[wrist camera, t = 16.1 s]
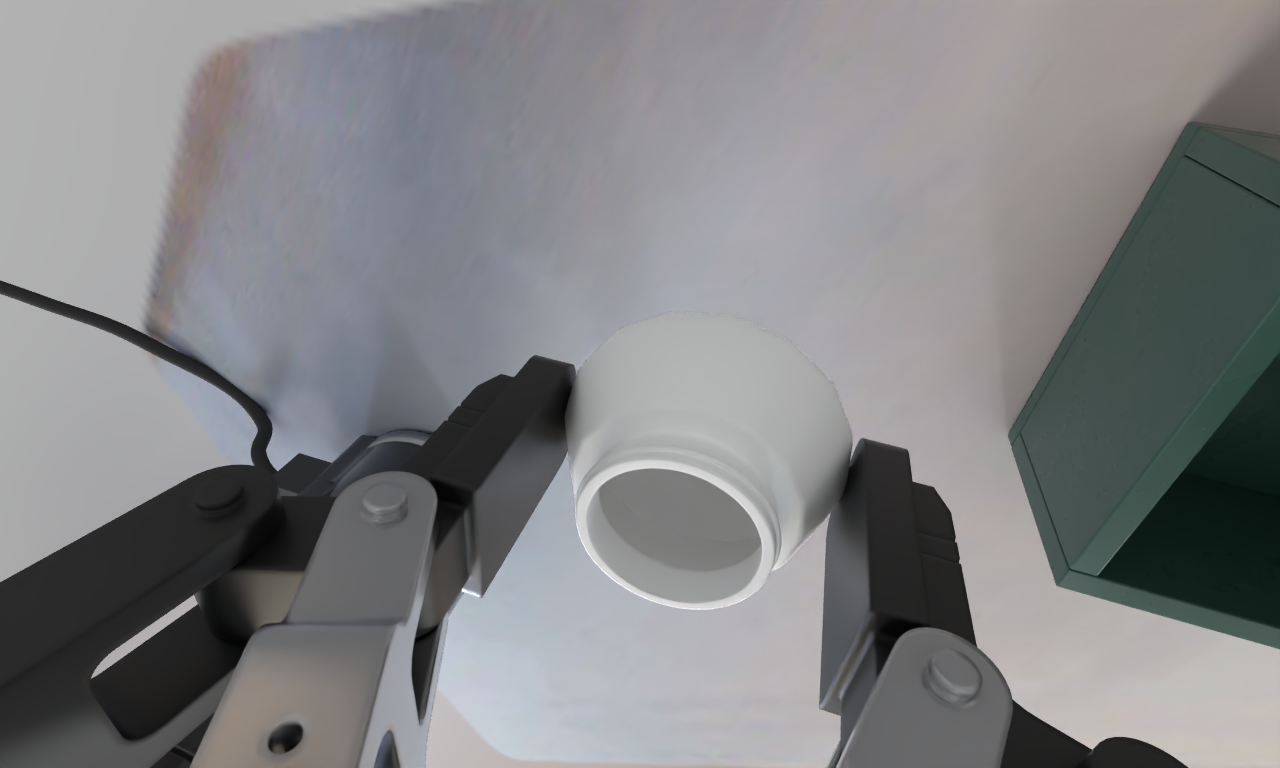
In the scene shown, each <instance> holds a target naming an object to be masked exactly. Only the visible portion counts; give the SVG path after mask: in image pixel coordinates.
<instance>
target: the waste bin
mask: <svg viewBox="0 0 1280 768" xmlns="http://www.w3.org/2000/svg"><path fill="white" fill-rule="evenodd" d="M1008 438H1009V441H1010V444H1011V446H1012V451H1013V454H1014V457H1015V460H1016V463H1017V467H1018V470H1019V473H1020V476H1021V479H1022V482H1023V485H1024V488H1025V491H1026V494H1027V497H1028V500H1029V503H1030V506H1031V509H1032V512H1033V515H1034V518H1035V522H1036V525H1037V528H1038V531H1039V534H1040V537H1041V540H1042V543H1043V546H1044V549H1045V552H1046V555H1047V558H1048V561H1049V564H1050V567H1051V570H1052V573H1053V577H1054V580H1055V583H1056V585H1057V586H1058V587H1062V588H1065V589H1069V590H1073V591H1076V592H1080V593H1083V594H1087V595H1090V596H1094V597H1097V598H1101V599H1104V600H1108V601H1111V602H1115V603H1119V604H1122V605H1126V606H1129V607H1133V608H1136V609H1140V610H1143V611H1147V612H1150V613H1154V614H1157V615H1161V616H1164V617H1168V618H1172V619H1175V620H1179V621H1182V622H1186V623H1189V624H1193V625H1196V626H1200V627H1203V628H1207V629H1210V630H1214V631H1217V632H1221V633H1225V634H1228V635H1232V636H1235V637H1239V638H1242V639H1246V640H1249V641H1253V642H1256V643H1260V644H1263V645H1267V646H1271V647H1274V648H1278V649H1280V136H1277V135H1271V134H1265V133H1258V132H1252V131H1246V130H1240V129H1233V128H1227V127H1221V126H1215V125H1209V124H1202V123H1196V122H1190V123H1188V125H1187V126H1186V128H1185V130H1184V131H1183V133H1182V135H1181V137H1180V138H1179V140H1178V142H1177V143H1176V145H1175V147H1174V149H1173V150H1172V152H1171V154H1170V156H1169V157H1168V159H1167V161H1166V163H1165V164H1164V166H1163V168H1162V169H1161V171H1160V173H1159V175H1158V176H1157V178H1156V180H1155V182H1154V183H1153V185H1152V187H1151V189H1150V190H1149V192H1148V194H1147V195H1146V197H1145V199H1144V201H1143V202H1142V204H1141V206H1140V208H1139V209H1138V211H1137V213H1136V215H1135V216H1134V218H1133V220H1132V221H1131V223H1130V225H1129V227H1128V228H1127V230H1126V232H1125V234H1124V235H1123V237H1122V239H1121V241H1120V242H1119V244H1118V246H1117V247H1116V249H1115V251H1114V253H1113V254H1112V256H1111V258H1110V260H1109V261H1108V263H1107V265H1106V267H1105V268H1104V270H1103V272H1102V274H1101V275H1100V277H1099V279H1098V280H1097V282H1096V284H1095V286H1094V287H1093V289H1092V291H1091V293H1090V294H1089V296H1088V298H1087V300H1086V301H1085V303H1084V305H1083V306H1082V308H1081V310H1080V312H1079V313H1078V315H1077V317H1076V319H1075V320H1074V322H1073V324H1072V326H1071V327H1070V329H1069V331H1068V332H1067V334H1066V336H1065V338H1064V339H1063V341H1062V343H1061V345H1060V346H1059V348H1058V350H1057V352H1056V353H1055V355H1054V357H1053V358H1052V360H1051V362H1050V364H1049V365H1048V367H1047V369H1046V371H1045V372H1044V374H1043V376H1042V378H1041V379H1040V381H1039V383H1038V384H1037V386H1036V388H1035V390H1034V391H1033V393H1032V395H1031V397H1030V398H1029V400H1028V402H1027V404H1026V405H1025V407H1024V409H1023V410H1022V412H1021V414H1020V416H1019V417H1018V419H1017V421H1016V423H1015V424H1014V426H1013V428H1012V430H1011V431H1010V433H1009V435H1008Z"/></svg>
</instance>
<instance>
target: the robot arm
mask: <svg viewBox="0 0 1280 768" xmlns="http://www.w3.org/2000/svg"><path fill="white" fill-rule="evenodd" d="M0 294H2V295H5V296H8V297H11V298H14V299H17V300H19V301H22V302H25V303H28V304H30V305H33V306H36V307H39V308H41V309H44V310H47V311H50V312H53V313H56V314H59V315H62V316H65V317H68V318H71V319H74V320H77V321H80V322H83V323H86V324H89V325H92V326H94V327H97V328H100V329H102V330H105V331H107V332H109V333H112V334H114V335H116V336H118V337H121V338H123V339H125V340H127V341H129V342H131V343H133V344H135V345H137V346H139V347H140V348H142V349H144V350H146V351H148V352H150V353H152V354H154V355H156V356H158V357H160V358H162V359H164V360H166V361H168V362H170V363H172V364H174V365H176V366H178V367H180V368H182V369H184V370H186V371H188V372H190V373H192V374H194V375H196V376H198V377H200V378H202V379H204V380H205V381H207V382H209V383H211V384H213V385H214V386H216V387H218V388H219V389H221V390H222V391H224V392H225V393H227V394H228V395H229V396H231V397H232V398H233V399H234V400H236V401H237V402H238V403H239V404H240V405H241V406H242V407H243V408H244V409H245V410H246V411H247V413H248V414H249V415H250V416H251V418H252V419H253V421H254V423H255V424H256V426H257V428H258V433H257V435H256V437H255V439H254V441H253V444H252V448H251V458H252V461H253V464H254V466H251V465H228V466H223V467H217V468H214V469H210V470H207V471H204V472H201V473H199V474H197V475H194V476H192V477H191V478H188V479H187V480H185V481H183V482H181V483H179V484H178V485H176V486H174V487H172V488H170V489H168V490H167V491H165V492H163V493H161V494H160V495H158V496H156V497H154V498H152V499H151V500H149V501H147V502H145V503H143V504H142V505H140V506H138V507H136V508H134V509H132V510H130V511H129V512H127V513H125V514H123V515H121V516H120V517H118V518H116V519H114V520H112V521H111V522H109V523H107V524H105V525H103V526H102V527H100V528H98V529H96V530H94V531H92V532H91V533H89V534H87V535H85V536H84V537H82V538H80V539H78V540H76V541H74V542H73V543H71V544H69V545H67V546H65V547H63V548H62V549H60V550H58V551H56V552H54V553H53V554H51V555H49V556H47V557H45V558H44V559H42V560H40V561H38V562H36V563H35V564H33V565H31V566H29V567H27V568H25V569H24V570H22V571H20V572H18V573H17V574H15V575H13V576H11V577H9V578H7V579H6V580H4V581H2V582H0V768H426V749H427V739H428V732H429V726H430V721H431V716H432V710H433V704H434V699H435V693H436V688H437V682H438V677H439V671H440V666H441V660H442V655H443V649H444V644H445V638H446V633H447V627H448V619H449V618H448V617H449V616H450V614H451V613H452V611H453V610H454V608H455V606H456V605H457V603H458V602H459V600H460V599H461V597H462V595H463V594H464V592H466V593H469V594H472V595H475V596H478V597H481V598H482V597H483V595H484V594H485V592H486V590H487V589H488V587H489V585H490V584H491V582H492V580H493V579H494V577H495V575H496V574H497V572H498V570H499V568H500V567H501V565H502V563H503V562H504V560H505V558H506V557H507V555H508V553H509V552H510V550H511V548H512V547H513V545H514V543H515V542H516V540H517V538H518V537H519V535H520V533H521V532H522V530H523V528H524V527H525V525H526V523H527V522H528V520H529V518H530V517H531V515H532V513H533V512H534V510H535V508H536V507H537V505H538V503H539V502H540V500H541V498H542V497H543V495H544V493H545V491H546V490H547V488H548V486H549V485H550V483H551V481H552V480H553V478H554V476H555V475H556V473H557V471H558V470H559V468H560V466H561V465H562V463H563V461H564V459H565V456H566V454H567V451H568V447H567V438H566V428H565V419H564V416H565V411H566V406H567V402H568V399H569V396H570V393H571V390H572V387H573V384H574V381H575V378H576V371H575V367H574V365H572V364H569V363H565V362H561V361H557V360H553V359H549V358H545V357H541V356H537V355H535V356H533V357H531V358H530V359H529V361H528V362H527V363H526V364H525V365H524V366H523V368H522V369H521V370H520V371H519V372H518V373H517V375H516V376H515V377H510V376H506V375H502V374H500V375H498V376H496V377H494V378H492V379H490V380H488V381H486V382H484V383H482V384H480V385H478V386H477V387H476V388H475V389H474V390H473V391H472V392H471V393H470V394H469V395H468V396H467V397H466V399H465V400H464V401H463V402H462V403H461V406H460V407H459V406H458V407H457V408H456V409H455V410H454V412H453V413H452V414H451V415H450V416H449V418H448V421H446V420H445V421H444V422H443V423H442V424H441V426H440V427H439V428H438V429H437V430H436V431H435V432H434V433H433V434H432V435H430V434H426V433H422V432H417V431H408V430H400V431H393V432H389V433H386V434H383V435H381V436H380V437H378V438H371V437H368V436H365V435H362V436H360V437H359V438H358V439H357V440H356V441H355V442H354V443H353V444H352V445H351V446H350V447H349V448H347V449H346V450H345V451H344V452H343V453H342V454H341V455H340V456H339V457H338V458H337V459H336V460H335V461H333V462H332V463H330V462H326V461H323V460H320V459H317V458H313V457H310V456H307V455H304V454H301V453H299V454H298V455H297V456H295V457H294V458H293V459H292V460H291V461H290V462H288V463H287V464H286V465H285V466H284V467H283V468H281V469H280V470H279V471H277V470H276V469H275V468H274V467H273V466H272V464H271V463H270V461H269V459H268V457H267V454H266V448H267V446H268V444H269V441H270V439H271V436H272V429H273V428H272V423H271V421H270V419H269V418H268V416H267V414H266V413H265V411H264V410H263V409H262V408H261V407H260V406H259V405H258V404H257V403H256V402H255V401H253V400H252V399H251V398H250V397H248V396H247V395H246V394H244V393H243V392H242V391H241V390H239V389H238V388H237V387H235V386H234V385H233V384H231V383H230V382H229V381H227V380H226V379H225V378H223V377H222V376H220V375H219V374H218V373H216V372H215V371H213V370H212V369H210V368H209V367H207V366H205V365H203V364H202V363H200V362H198V361H196V360H194V359H192V358H190V357H188V356H186V355H184V354H182V353H180V352H178V351H176V350H174V349H172V348H170V347H168V346H166V345H164V344H162V343H160V342H158V341H157V340H155V339H153V338H151V337H149V336H147V335H145V334H143V333H141V332H139V331H137V330H135V329H133V328H131V327H129V326H127V325H124V324H122V323H120V322H117V321H115V320H112V319H110V318H107V317H104V316H102V315H99V314H96V313H93V312H90V311H87V310H84V309H81V308H78V307H75V306H72V305H69V304H66V303H63V302H60V301H57V300H54V299H51V298H48V297H45V296H43V295H40V294H37V293H35V292H32V291H29V290H26V289H23V288H20V287H18V286H14V285H11V284H9V283H6V282H3V281H0ZM955 538H956V536H955V531H954V526H953V521H952V515H951V512H950V510H949V509H948V507H947V506H946V505H945V503H944V502H943V500H942V499H941V497H940V496H939V494H938V493H937V491H936V490H935V489H934V487H931V486H927V485H923V484H919V483H916V482H912V474H911V466H910V458H909V452H908V450H907V449H903V448H900V447H896V446H892V445H888V444H884V443H880V442H876V441H872V440H868V439H864V438H862V439H860V441H859V442H858V444H857V446H856V449H855V451H854V454H853V456H852V459H851V461H850V464H849V472H848V479H847V485H846V488H845V492H844V495H843V496H842V498H841V499H840V500H839V501H838V503H837V504H836V505H835V507H834V508H833V509H832V511H831V514H830V519H829V523H828V529H827V537H826V558H825V582H824V606H823V630H822V654H821V678H820V701H819V709H821V710H825V711H828V712H831V713H834V714H837V715H840V716H841V740H840V741H839V743H838V745H837V747H836V748H835V750H834V752H833V754H832V756H831V758H830V760H829V762H828V764H827V766H826V768H1188V767H1187V766H1185V765H1184V764H1183V763H1181V762H1180V761H1179V760H1177V759H1176V758H1174V757H1173V756H1171V755H1170V754H1168V753H1166V752H1164V751H1163V750H1161V749H1159V748H1157V747H1155V746H1153V745H1151V744H1148V743H1146V742H1143V741H1140V740H1137V739H1132V738H1127V737H1113V738H1108V739H1106V740H1104V741H1102V742H1100V743H1099V744H1098V745H1097V746H1096V747H1095V748H1094V749H1093V750H1092V749H1090V748H1088V747H1086V746H1085V745H1083V744H1081V743H1080V742H1078V741H1076V740H1074V739H1073V738H1071V737H1069V736H1068V735H1066V734H1064V733H1063V732H1061V731H1059V730H1057V729H1056V728H1054V727H1052V726H1051V725H1049V724H1047V723H1046V722H1044V721H1042V720H1040V719H1039V718H1037V717H1036V716H1034V715H1032V714H1031V713H1029V712H1028V711H1026V710H1025V709H1024V708H1022V707H1021V706H1020V705H1019V704H1017V703H1016V702H1015V701H1014V700H1013V699H1012V696H1011V692H1010V689H1009V687H1008V685H1007V682H1006V680H1005V678H1004V677H1003V675H1002V674H1001V672H1000V671H999V669H998V668H997V667H996V665H995V664H994V663H993V662H992V661H991V660H990V659H989V658H988V657H987V656H986V655H985V654H984V653H983V652H982V651H981V650H979V649H978V648H977V645H976V640H975V635H974V630H973V624H972V619H971V614H970V609H969V604H968V599H967V593H966V588H965V583H964V578H963V573H962V567H961V564H959V560H960V557H959V552H958V547H957V543H956V542H955ZM193 595H194V596H195V598H196V600H197V602H198V605H196V606H195V607H193V608H192V609H191V610H189V611H188V612H186V613H185V614H184V615H182V616H181V617H179V618H178V619H176V620H175V621H174V622H172V623H171V624H170V625H168V626H167V627H165V628H164V629H163V630H161V631H160V632H158V633H157V634H155V635H154V636H153V637H151V638H150V639H148V640H147V641H145V642H144V643H143V644H141V645H140V646H138V647H137V648H136V649H134V650H133V651H131V652H130V653H129V654H127V655H126V656H124V657H123V658H122V659H120V660H119V661H117V662H116V663H115V664H113V665H112V666H110V667H109V668H107V669H106V670H105V671H103V672H102V673H100V674H99V675H97V676H96V677H94V678H92V679H91V677H92V674H93V673H94V671H95V669H96V668H97V666H98V665H99V664H100V662H101V661H102V660H103V659H104V658H105V657H106V656H107V655H108V654H110V653H111V652H112V651H113V650H115V649H116V648H118V647H119V646H120V645H122V644H123V643H125V642H126V641H128V640H129V639H131V638H132V637H133V636H135V635H136V634H138V633H139V632H140V631H142V630H143V629H145V628H146V627H147V626H149V625H151V624H152V623H154V622H155V621H156V620H158V619H159V618H161V617H162V616H164V615H165V614H167V613H168V612H169V611H171V610H172V609H174V608H175V607H177V606H178V605H180V604H181V603H182V602H184V601H185V600H187V599H188V598H190V597H191V596H193Z"/></svg>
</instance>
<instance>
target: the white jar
mask: <svg viewBox="0 0 1280 768" xmlns="http://www.w3.org/2000/svg"><path fill="white" fill-rule="evenodd" d="M564 419H565V428H566V438H567V447H568V456H569V466H570V473H571V480H572V486H573V493H574V499H575V506H574V512H575V521H576V526H577V530H578V534H579V537H580V539H581V541H582V544H583V546H584V547H585V549H586V551H587V553H588V554H589V555H590V557H591V558H592V560H593V561H594V562H595V563H596V564H597V566H598V567H599V568H600V569H601V570H602V571H603V572H604V573H605V574H607V575H608V576H609V577H610V578H611V579H613V580H614V581H615V582H616V583H618V584H619V585H621V586H622V587H624V588H626V589H627V590H629V591H631V592H633V593H634V594H636V595H638V596H641V597H643V598H645V599H648V600H650V601H653V602H656V603H659V604H663V605H666V606H671V607H675V608H682V609H692V610H705V609H716V608H721V607H726V606H729V605H733V604H736V603H738V602H740V601H743V600H744V599H746V598H748V597H750V596H751V595H752V594H754V593H755V592H756V591H757V590H759V589H760V588H761V587H762V585H763V584H764V583H765V582H766V580H767V579H768V577H769V576H770V573H771V572H772V571H774V570H776V569H778V568H780V567H782V566H783V565H784V564H785V563H786V562H787V561H788V560H789V558H790V557H791V556H792V555H793V554H794V553H795V552H796V551H797V550H798V549H799V548H800V547H801V546H802V545H803V544H804V543H805V542H806V540H807V539H808V538H809V537H810V536H811V535H812V534H813V533H814V532H815V531H816V530H817V529H818V528H819V526H820V525H821V524H822V522H823V521H824V520H825V518H826V517H827V516H828V514H829V513H830V512H831V511H832V509H833V508H834V507H835V505H836V504H837V503H838V501H839V500H840V499H841V498H842V496H843V495H844V492H845V488H846V485H847V479H848V472H849V464H850V457H851V450H852V431H851V428H850V425H849V423H848V420H847V417H846V415H845V412H844V409H843V407H842V404H841V401H840V399H839V396H838V393H837V391H836V388H835V385H834V383H833V382H832V381H831V380H830V379H829V378H828V377H827V376H826V375H825V374H824V373H823V372H822V371H821V370H820V369H819V368H818V367H817V366H816V365H815V364H814V363H813V362H812V361H811V360H810V359H809V358H808V357H807V356H806V355H805V354H804V353H803V352H802V351H801V350H800V349H799V348H798V347H797V346H796V345H795V344H794V343H793V342H792V341H791V340H788V339H786V338H784V337H782V336H779V335H777V334H775V333H773V332H770V331H768V330H766V329H763V328H761V327H759V326H757V325H754V324H752V323H750V322H748V321H745V320H743V319H741V318H739V317H736V316H734V315H724V314H707V313H691V312H675V311H671V312H668V313H665V314H662V315H659V316H656V317H653V318H650V319H647V320H644V321H641V322H638V323H635V324H632V325H629V326H626V327H623V328H620V329H618V330H617V331H616V332H615V333H614V334H613V335H612V336H611V337H610V338H609V339H608V340H607V341H606V342H605V343H604V344H603V345H602V346H601V347H599V348H598V349H597V350H596V351H595V352H594V353H593V354H592V355H591V356H590V357H589V358H588V359H587V360H586V361H585V362H584V363H583V365H582V366H581V367H580V369H579V370H578V372H577V375H576V378H575V381H574V384H573V387H572V390H571V393H570V396H569V399H568V402H567V406H566V411H565V416H564Z"/></svg>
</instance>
